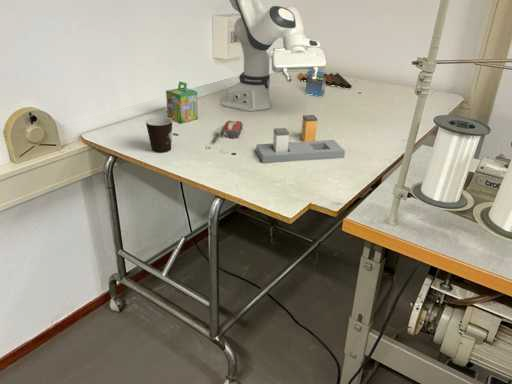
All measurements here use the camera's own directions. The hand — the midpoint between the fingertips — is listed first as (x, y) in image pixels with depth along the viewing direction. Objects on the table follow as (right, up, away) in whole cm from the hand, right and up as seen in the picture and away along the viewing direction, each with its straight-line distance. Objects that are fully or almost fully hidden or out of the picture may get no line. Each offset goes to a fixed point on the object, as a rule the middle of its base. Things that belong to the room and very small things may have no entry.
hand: (301, 80), depth 151 cm
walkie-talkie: (-27, -20, +3) cm, 34 cm away
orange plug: (+2, -22, +1) cm, 22 cm away
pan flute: (+21, +19, +78) cm, 83 cm away
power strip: (-2, -28, -11) cm, 30 cm away
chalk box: (-47, -11, +18) cm, 51 cm away
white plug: (-9, -29, -12) cm, 33 cm away
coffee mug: (-48, -26, -9) cm, 55 cm away
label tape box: (+13, +8, +56) cm, 58 cm away
